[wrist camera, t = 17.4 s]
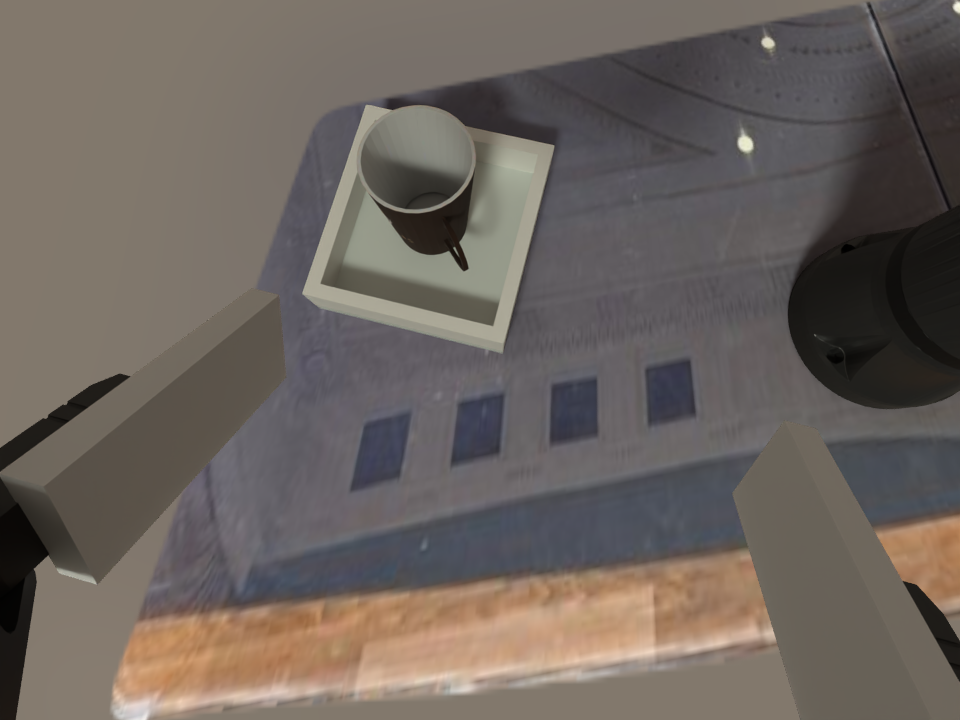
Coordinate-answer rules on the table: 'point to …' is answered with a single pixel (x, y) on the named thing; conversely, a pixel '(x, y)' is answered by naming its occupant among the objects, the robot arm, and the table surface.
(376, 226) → the white storage tray
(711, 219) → the table surface
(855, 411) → the table surface
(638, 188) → the table surface
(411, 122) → the coffee mug
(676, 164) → the table surface
